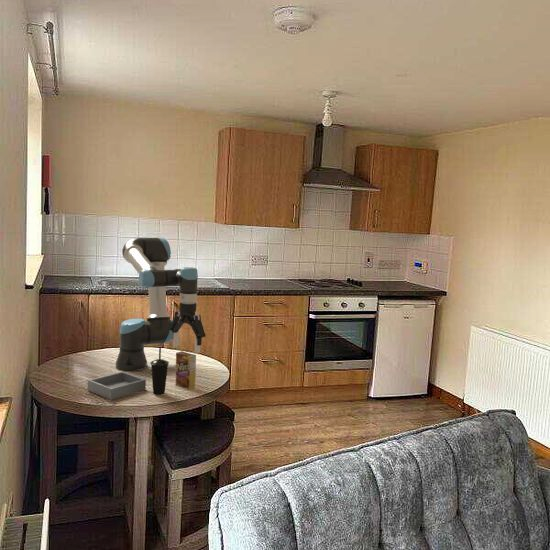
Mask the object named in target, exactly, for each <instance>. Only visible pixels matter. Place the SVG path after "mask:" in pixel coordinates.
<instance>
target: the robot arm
mask: <svg viewBox="0 0 550 550" xmlns="http://www.w3.org/2000/svg"><path fill="white" fill-rule="evenodd" d="M121 251H122V257H123V259H124V260H125V261H126V262H128V263H129V264H131V265H132V267H133V268H134V269H135V271H136V272H137V273H138V283H139V285H140V287H142V288H148V289H147V290H148V291H147V292H148V305H149V307H148V309H149V310H148V311H149V315H148V316H147V317H146V321H145V319H144V318H130V319H126V320H123V321H122V322H121V323H120V328H119V352H118V356H117V358H116V361H115V368H116V369H118V370H121V371H125V372H126V371H130V372H133V371H141V370H144V369H145V368H147V367H148V359H147V357H146V354H145V346H146V345H147V346H149V345H164V344H168V343H170V342H172V341H173V343H172V348H178V347H179V346H180V332H179V331H180V329H181V328H182V326H183V325H184V324H187V325H189V326H190V328H191V329H192V331H193V334H194V335H195V338H194V353H195V354H198V353H201V347H202V342H203V341H202V339H203V338H205V337H206V333H205V330H204V326H203V323H202V316H201V314H196V312H197V305H198V303H197V301H198V295H197V294H198V278H199V276H198V269H197V267H189V266H188V267H187V266H186V267H185V266H184V267H181V268H174V269H165V267H166V266H167V264H168V262H169V261H170V259H171V257H172V256H171V254H172V252H171V246H170V243H169V241H168V240H167V238H164V237H163V238H162V237H133V238H130V239H128V240H127V241H126V242H125V243H124V245H123V246H122V249H121ZM166 287H179V306H178V307H179V309H178V310H177V311H174V317H173V319H171V316H170V315H169V313H168V309H167V293H166ZM140 369H141V370H140Z"/></svg>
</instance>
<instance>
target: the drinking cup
mask: <svg viewBox="0 0 550 550" xmlns="http://www.w3.org/2000/svg"><path fill="white" fill-rule="evenodd" d="M158 351H159V352H158V358H157V359H154V360H152V361H150V365H151V366H150V367H151V368H150V369H151V382H152V394H153V395H156V396H162V394H163V395H164V394H165V392H166V384H167V377H168V366H169V364H170V362H169V361H168V360H166V359H161V358H162V357H161V356H162V355H161V354H162V348H161V347H159V348H158Z"/></svg>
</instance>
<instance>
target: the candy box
mask: <svg viewBox="0 0 550 550" xmlns="http://www.w3.org/2000/svg"><path fill="white" fill-rule="evenodd" d="M196 364H197V355H196V354H194V353H189V352H185V351H183V350H182V351H181V350H180V351H178V352H176V354H175V386H178V387H180V388H184V389H186V388H187V390H189V389H190V390H192V389H194V387H196V374H197V373H196V370H197V368H196V366H197V365H196Z"/></svg>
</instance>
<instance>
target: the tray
mask: <svg viewBox="0 0 550 550" xmlns="http://www.w3.org/2000/svg"><path fill="white" fill-rule="evenodd" d="M146 382H147V379H145V378H142V377H140V376H136V375H133V374H131V373H128V372H126V371H120V372H115V373H112V374H107V375H103V376H99V377H96V378H91V379H88V380H87V391H88V392H90V391H91V393H93V394H95V393H96V395H98V394H99V395H98V396H100V395H101V397H103V398H105V399H108V400H111V401H112V400H115V399H116V400H117V399H119V398H122V397H126V396H129V395H131V394H132V395H133V394H135V392H136V393H138V391H139V392H142V391H145V390H147V389H146V386H147V384H146Z"/></svg>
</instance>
